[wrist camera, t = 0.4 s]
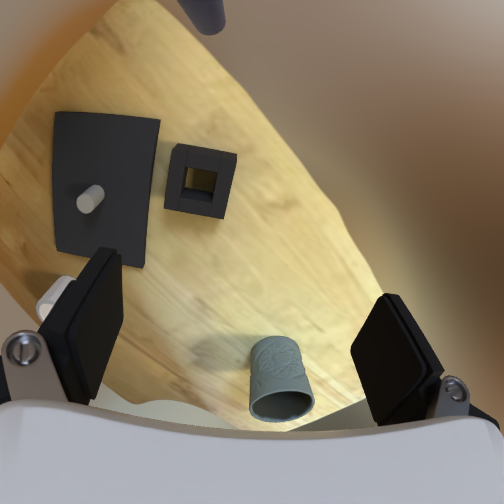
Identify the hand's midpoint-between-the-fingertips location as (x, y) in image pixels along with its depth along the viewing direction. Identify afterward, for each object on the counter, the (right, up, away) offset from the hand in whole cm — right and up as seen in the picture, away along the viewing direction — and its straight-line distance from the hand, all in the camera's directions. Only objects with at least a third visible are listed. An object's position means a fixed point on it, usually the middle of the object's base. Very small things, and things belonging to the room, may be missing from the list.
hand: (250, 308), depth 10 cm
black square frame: (-6, +11, +25) cm, 28 cm away
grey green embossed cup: (+4, -15, +41) cm, 44 cm away
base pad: (-20, +10, +25) cm, 33 cm away
